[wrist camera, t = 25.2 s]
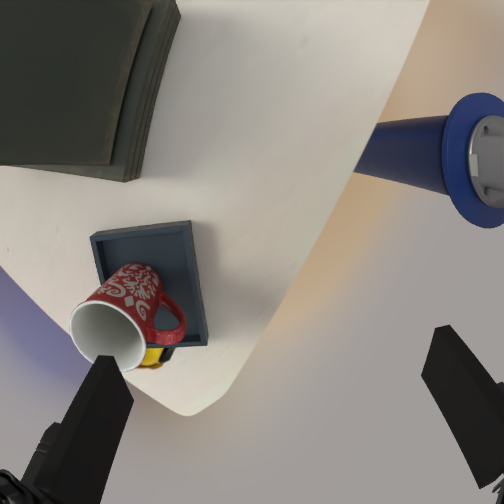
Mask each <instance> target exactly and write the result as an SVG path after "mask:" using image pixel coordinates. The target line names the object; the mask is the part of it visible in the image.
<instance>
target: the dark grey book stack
mask: <svg viewBox="0 0 504 504" xmlns="http://www.w3.org/2000/svg"><path fill="white" fill-rule="evenodd" d="M180 17H181V14H180V12H179V9H178V6H177V4H176V1H175V0H0V166H3V165H5V166H14V167H22V168H30V169H38V170H45V171H52V172H60V173H67V174H74V175H80V176H87V177H93V178H100V179H106V180H112V181H118V182H124V183H125V182H128V181H132V180H135V179H138V178H140V172H141V167H142V161H143V156H144V151H145V146H146V141H147V136H148V131H149V127H150V122H151V118H152V113H153V109H154V105H155V101H156V97H157V93H158V89H159V85H160V82H161V78H162V74H163V71H164V67H165V64H166V60H167V57H168V54H169V50H170V47H171V44H172V41H173V38H174V35H175V32H176V29H177V26H178V23H179V20H180Z"/></svg>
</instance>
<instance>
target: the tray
mask: <svg viewBox="0 0 504 504" xmlns="http://www.w3.org/2000/svg"><path fill="white" fill-rule="evenodd" d="M90 241H91V246H92V250H93V255H94V259H95V263H96V268H97V272H98V276H99V280H100V283H101V286H102V285H103V284H104V283H105V282H106V281H107V280H108V279H109V278H110V277H111V276H113V275H114V274H115V273H116V272H117V271H118V270H119V269H120V268H121V267H123V266H124V265H126V264H129V263H134V262H137V263H142V264H145V265H147V266H149V267H151V268H152V269H153V270H155V271H156V273H157V274H158V275H159V277H160V279H161V281H162V284H163V292H164V293H165V294H167V295H168V296H169V297H170V298H172V299H173V300H174V301H175V302H176V303H177V304H178V305H179V307H180V308H181V309H182V310H183V312H184V314H185V317H186V325H187V326H186V334H185V336H184V338H183V339H182V340H181V341H180V342H179V343H176V344H173V345H160V344H156V343H154V342H147V344H146V348H170V347H191V346H207V344H208V331H207V325H206V319H205V313H204V307H203V301H202V295H201V289H200V283H199V276H198V270H197V263H196V256H195V249H194V242H193V235H192V227H191V220H188V221H179V222H170V223H161V224H153V225H145V226H137V227H129V228H121V229H113V230H106V231H99V232H96V233H95V234H93V235H92V236H90ZM154 324H155V328H157V329H159V330H163V331H165V330H173V329H175V328H176V327H178V326H179V324H180V323H179V321H178V320H177V319H176V317H175V316H174V315H173V314H172V313H171V312H170V311H169V310H168V309H167V308H165V307H163V306H159V307H158V310H157V313H156V316H155V319H154Z"/></svg>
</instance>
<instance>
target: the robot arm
mask: <svg viewBox="0 0 504 504" xmlns="http://www.w3.org/2000/svg"><path fill="white" fill-rule="evenodd" d="M465 166H466V173H467V177H468V181H469V184H470V186H471V189H472V191H473V192H474V194H475V196H476V197H477V198H478V199H479V200H480V201H481V202H482V203H484V204H485V205H488V206H491V207H494V208H504V118H503V117H500V116H496V115H491V116H483V117H481V118H479V119H478V120H477V121H476V122H475V123H474V124H473V126H472V128H471V130H470V132H469V134H468V138H467V142H466V148H465ZM421 376H422V378H423V380H424V382H425V383H426V385H427V387H428V389H429V390H430V392H431V394H432V396H433V397H434V399H435V401H436V403H437V405H438V406H439V408H440V410H441V412H442V414H443V416H444V418H445V419H446V422H447V423H448V425H449V427H450V429H451V431H452V433H453V435H454V437H455V439H456V441H457V443H458V445H459V447H460V449H461V451H462V453H463V455H464V457H465V459H466V461H467V463H468V465H469V467H470V469H471V472H472V474H473V476H474V478H475V480H476V483H477V485H478V487H479V489H481V488H483V487H485V486H487V485H489V484H490V483H492V482H494V481H495V480H496V479H497V478H498V477H499V476H500V475H501V474H502V473H503V474H504V383H503V382H500V383H498V384H496V383H495V381H494V380H493V379H492V377H491V376H490V375H489V373H488V372H487V371H486V369H485V368H484V367H483V365H482V364H481V363H480V362H479V360H478V359H477V358H476V357H475V355H474V354H473V353H472V352H471V350H470V349H469V348H468V347H467V345H466V344H465V343H464V342H463V340H462V339H461V338H460V337H459V336H458V334H457V333H456V332H455V331H454V330H453V328H452V327H451V326H450V325H446V326H442V327H438V328H435V331H434V335H433V338H432V342H431V345H430V349H429V352H428V355H427V359H426V362H425V365H424V368H423V371H422V374H421ZM133 402H134V399H133V397H132V395H131V393H130V391H129V389H128V387H127V385H126V383H125V381H124V378H123V376H122V374H121V372H120V369H119V367H118V365H117V362H116V360H115V358H114V356H109V355H98V356H97V358H96V360H95V361H94V363H93V365H92V367H91V368H90V370H89V372H88V374H87V376H86V377H85V379H84V381H83V383H82V385H81V386H80V388H79V391H78V392H77V394H76V396H75V398H74V399H73V401H72V403H71V405H70V407H69V409H68V411H67V413H66V415H65V417H64V419H63V421H62V422H61V424H60V423H56V422H54V423H53V424H52V425H51V426H50V427H49V428H48V429H47V430H46V431H45V432H44V434H43V436H42V439H41V440H40V443H39V444H38V446H37V448H36V451H35V452H34V454H33V456H32V458H31V460H30V463H29V465H28V467H27V469H26V471H25V473H24V475H23V478H22V479H21V481H19V480H18V479H17V478H16V477H14V476H13V475H12V474H11V473H10V472H9V471H7V470H4V469H2V470H0V504H100V502H101V499H102V495H103V492H104V489H105V485H106V482H107V479H108V476H109V473H110V469H111V466H112V463H113V460H114V457H115V454H116V451H117V448H118V445H119V442H120V439H121V436H122V433H123V430H124V427H125V425H126V422H127V419H128V416H129V413H130V411H131V408H132V405H133ZM499 487H500V490H499V491H498V492H497V493H499V494H498V498H497V502H496V504H504V478H503V479H502V480H501V481H500V482H499V483H498V484H497V485H496V486H495V487H494V489H493V491H492V492H493V493H494V492H495V491H496V490H497V489H498V488H499Z"/></svg>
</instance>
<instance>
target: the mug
mask: <svg viewBox="0 0 504 504" xmlns="http://www.w3.org/2000/svg"><path fill="white" fill-rule="evenodd" d="M159 306H163V307H165V308H167V309H168V310H169V311H170V312H171V313H172V314H173V315H174V316H175V317H176V319H177V320H178V321H179V323H180V324H179V326H178V327H176V328H175V329H173V330H165V331H163V330H159V329H157V328H155V324H154V319H155V316H156V313H157V310H158V307H159ZM186 326H187V325H186V317H185V314H184V312H183V310H182V309H181V308H180V307H179V305H178V304H177V303H176V302H175V301H174V300H173V299H172V298H170V297H169V296H168V295H167V294H165V293H164V292H163V284H162V281H161V279H160V277H159V275H158V274H157V273H156V271H155V270H153V269H152V268H151V267H149V266H147V265H145V264H142V263H137V262H134V263H129V264H126V265H124V266H123V267H121V268H120V269H119V270H118V271H117V272H116V273H115V274H114V275H113V276H111V277H110V278H109V279H108V280H107V281H106V282H105V283H104V284H103V285H102V286H101V287H99V288H98V289H97V290H96V291H95V292H94V293H93V294H92V295H91V296H90V297H89V298H88V299H87V300H86V301H84V302H82V303H81V304H79V305H78V306H77V307H76V308H75V309H74V311H73V312H72V314H71V317H70V323H69V328H70V334H71V337H72V340H73V342H74V344H75V346H76V347H77V349H78V350H79V351H80V353H81V354H82V355H83V356H84V357H85V358H86V359H87V360H89V361H90V362H91V363H94V361H95V360H96V358H97V356H98V355H109V356H114V358H115V360H116V362H117V365H118V367H119V369H120V372H127V371H130V370H133V369H135V368H137V367H138V366H139V365H140V364H141V363H142V361H143V360H144V358H145V354H146V344H147V342H154V343H156V344H160V345H173V344H176V343H179V342H180V341H181V340H182V339H183V338H184V336H185V334H186Z"/></svg>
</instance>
